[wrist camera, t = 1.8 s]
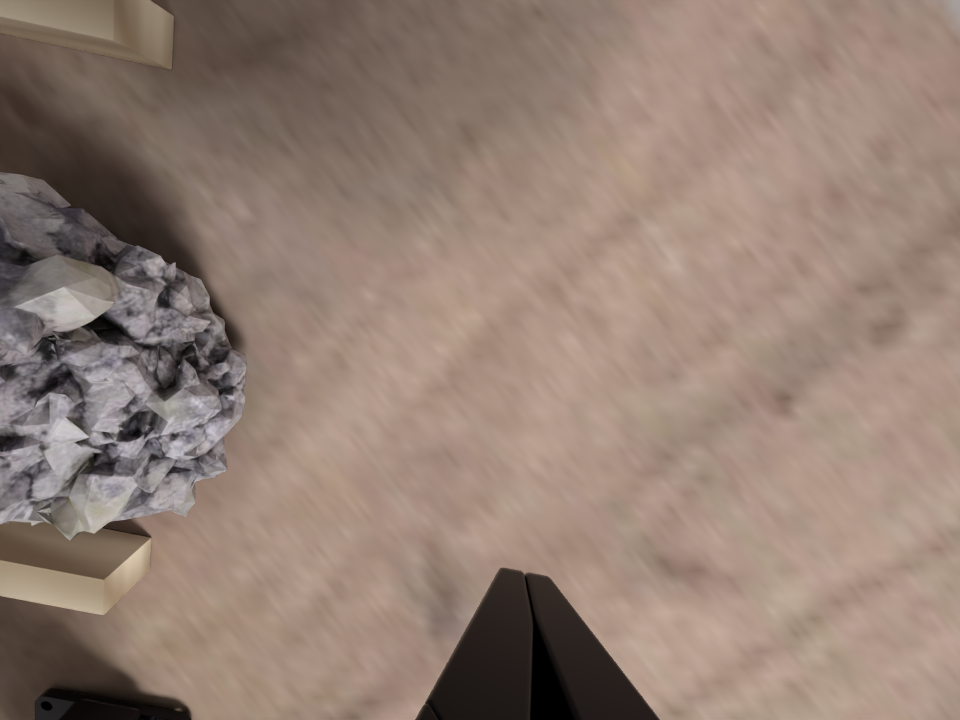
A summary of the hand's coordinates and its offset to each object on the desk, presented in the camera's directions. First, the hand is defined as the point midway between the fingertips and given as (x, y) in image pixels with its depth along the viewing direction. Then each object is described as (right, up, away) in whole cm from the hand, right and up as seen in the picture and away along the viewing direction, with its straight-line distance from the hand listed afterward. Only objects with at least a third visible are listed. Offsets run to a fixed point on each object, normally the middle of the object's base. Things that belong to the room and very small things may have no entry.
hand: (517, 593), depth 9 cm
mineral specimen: (-13, +5, +10) cm, 17 cm away
